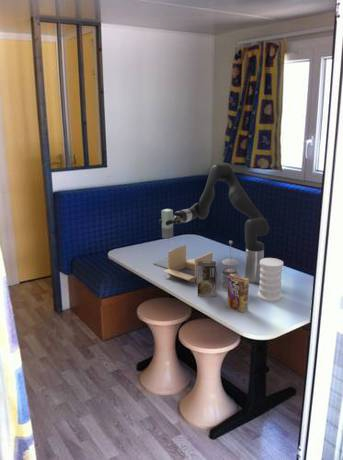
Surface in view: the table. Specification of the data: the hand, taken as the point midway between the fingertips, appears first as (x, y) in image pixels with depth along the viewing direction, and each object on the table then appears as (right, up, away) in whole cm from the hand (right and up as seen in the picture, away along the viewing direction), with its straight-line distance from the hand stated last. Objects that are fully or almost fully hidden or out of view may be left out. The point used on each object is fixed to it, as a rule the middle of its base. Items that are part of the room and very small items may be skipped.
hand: (162, 222), depth 248 cm
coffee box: (+22, -36, -30) cm, 51 cm away
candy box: (+35, -40, -45) cm, 69 cm away
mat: (+3, -24, +10) cm, 26 cm away
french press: (+34, -34, -24) cm, 54 cm away
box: (+3, -8, +5) cm, 10 cm away
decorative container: (+52, -36, -34) cm, 72 cm away
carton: (+15, -28, -6) cm, 32 cm away
